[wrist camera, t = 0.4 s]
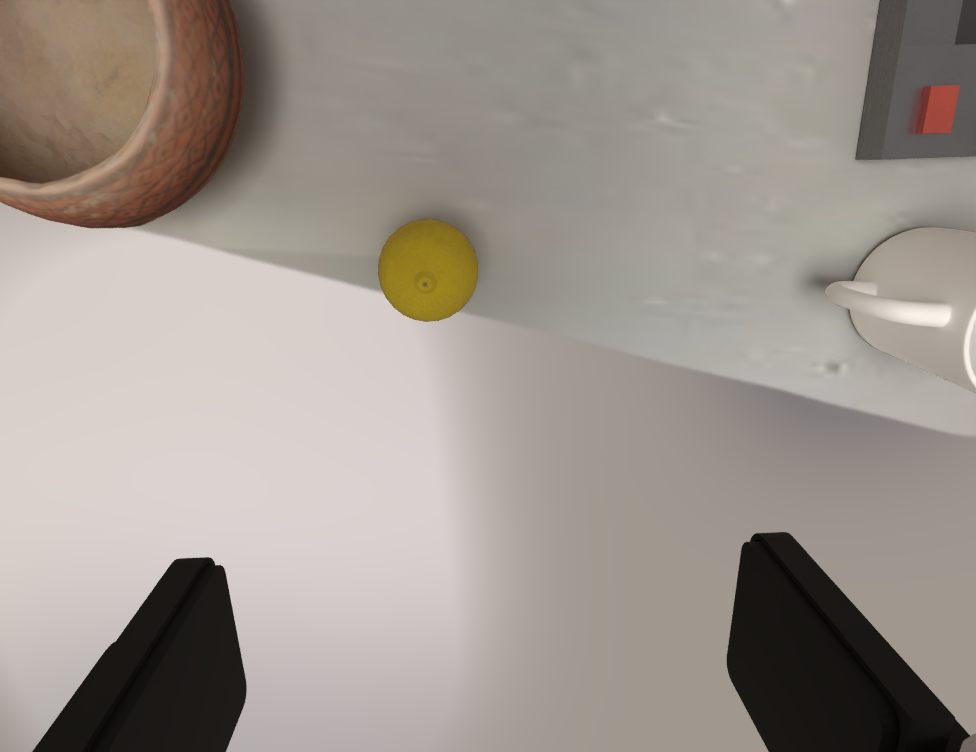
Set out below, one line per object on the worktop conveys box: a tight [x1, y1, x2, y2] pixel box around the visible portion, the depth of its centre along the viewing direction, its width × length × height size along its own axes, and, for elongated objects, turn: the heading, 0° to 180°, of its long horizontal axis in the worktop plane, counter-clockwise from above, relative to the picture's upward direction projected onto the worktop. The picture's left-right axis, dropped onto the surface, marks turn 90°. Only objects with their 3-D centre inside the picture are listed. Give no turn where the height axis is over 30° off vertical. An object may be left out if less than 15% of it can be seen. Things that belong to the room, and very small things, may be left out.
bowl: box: [0, 0, 244, 228], centre depth 29 cm, size 16×16×10 cm
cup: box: [825, 227, 976, 393], centre depth 35 cm, size 8×12×10 cm
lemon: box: [378, 219, 478, 322], centre depth 34 cm, size 6×6×8 cm
